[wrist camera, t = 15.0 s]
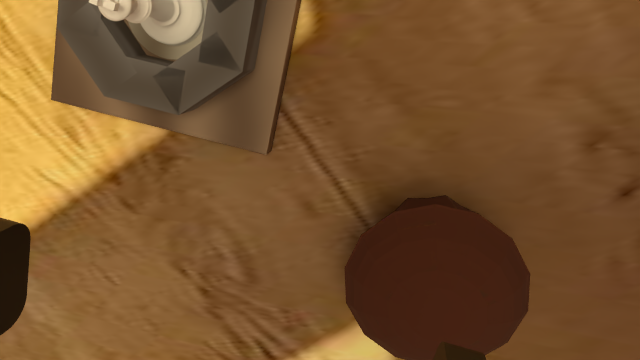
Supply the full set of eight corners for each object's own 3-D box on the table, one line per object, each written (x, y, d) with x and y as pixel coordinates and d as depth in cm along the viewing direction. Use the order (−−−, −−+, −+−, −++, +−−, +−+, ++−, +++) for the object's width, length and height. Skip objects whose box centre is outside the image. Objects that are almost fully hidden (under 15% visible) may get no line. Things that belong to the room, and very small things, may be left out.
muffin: (530, 199, 39) (571, 252, 29) (488, 331, 42) (513, 419, 32) (368, 163, 40) (357, 204, 30) (340, 295, 43) (321, 370, 33)
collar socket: (319, -92, 36) (308, -110, 31) (271, 150, 41) (255, 164, 36) (82, -143, 37) (40, -166, 33) (63, 97, 42) (24, 104, 38)
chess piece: (151, -41, 37) (62, -68, 27) (216, -12, 36) (150, -28, 27) (131, 28, 38) (39, 26, 28) (193, 57, 38) (123, 64, 28)
